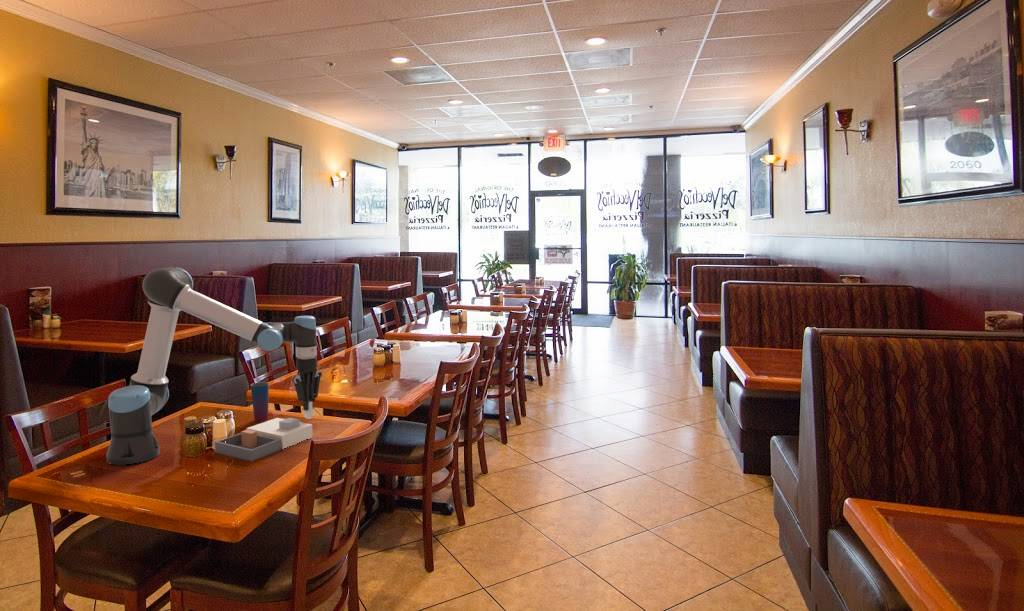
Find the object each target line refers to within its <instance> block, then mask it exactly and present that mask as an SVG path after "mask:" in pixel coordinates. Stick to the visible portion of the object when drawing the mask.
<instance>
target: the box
mask: <svg viewBox="0 0 1024 611" xmlns="http://www.w3.org/2000/svg"><path fill="white" fill-rule="evenodd" d="M225 438H226V439H225ZM225 438H223V439H224V440H222V439H220V440H216V441H214V453H215V454H216V453H217V454H218V455H222V456H224V457H229V456H230V458H232V459H233V458H234V459H237V460H240V461H245V460H246V462H249V461H250V463H254V462H256V461H258V459H259V460H261V459H263V458H266V457H268V456H271V455H273V454H275V453H274V452H276V453H278V452H280V451H279V450H281V451H282V449H280V439H275V438H271V437H266V436H262V435H257V446H254V447H248V446H243V445H242V439H241V432H240V433H236V434H234V435H231V436H228V437H225ZM225 441H226V443H225ZM277 451H278V452H277ZM272 453H273V454H272ZM270 454H271V455H270ZM265 456H266V457H265ZM260 458H261V459H260ZM255 460H256V461H255ZM253 461H254V462H253Z"/></svg>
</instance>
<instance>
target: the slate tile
mask: <svg viewBox="0 0 1024 611" xmlns="http://www.w3.org/2000/svg"><path fill="white" fill-rule="evenodd" d="M284 419H285V420H282V421H279V428H281V429H286V430H291V429H294V428H297V427H299V426H300V422H301V420H300V419H298V418H293V417H289V418H284Z"/></svg>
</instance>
